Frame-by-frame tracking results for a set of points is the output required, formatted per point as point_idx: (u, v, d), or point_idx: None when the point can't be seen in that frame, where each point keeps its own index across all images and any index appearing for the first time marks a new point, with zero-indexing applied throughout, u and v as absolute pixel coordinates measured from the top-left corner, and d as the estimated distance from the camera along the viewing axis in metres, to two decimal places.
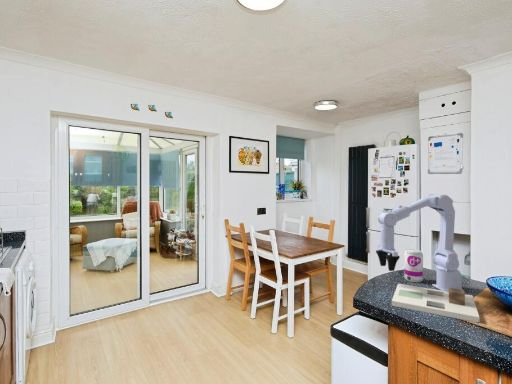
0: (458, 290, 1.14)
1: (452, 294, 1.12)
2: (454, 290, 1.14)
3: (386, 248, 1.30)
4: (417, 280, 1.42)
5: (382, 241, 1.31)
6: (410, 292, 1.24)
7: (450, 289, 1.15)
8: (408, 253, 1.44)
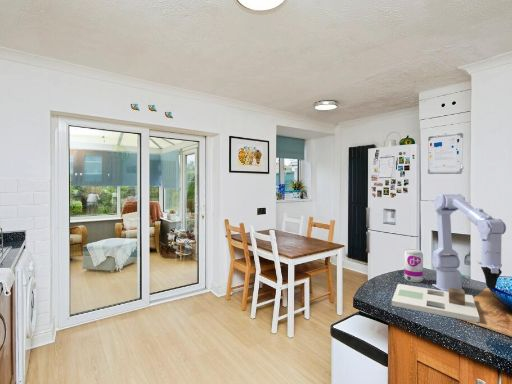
0: (458, 290, 1.14)
1: (452, 294, 1.12)
2: (454, 290, 1.14)
3: (486, 262, 1.06)
4: (417, 280, 1.42)
5: (482, 253, 1.08)
6: (410, 292, 1.24)
7: (450, 289, 1.15)
8: (408, 253, 1.44)
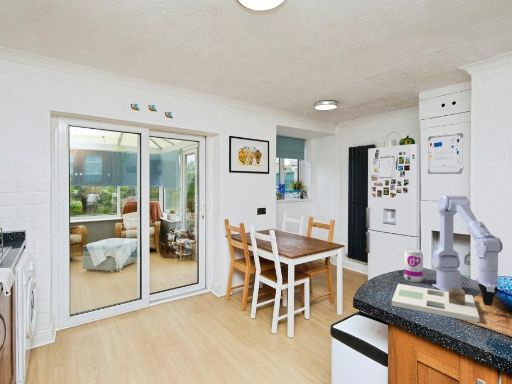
0: (458, 290, 1.14)
1: (452, 294, 1.12)
2: (454, 290, 1.14)
3: (483, 280, 1.07)
4: (417, 280, 1.42)
5: (479, 271, 1.09)
6: (410, 292, 1.24)
7: (450, 289, 1.15)
8: (408, 253, 1.44)
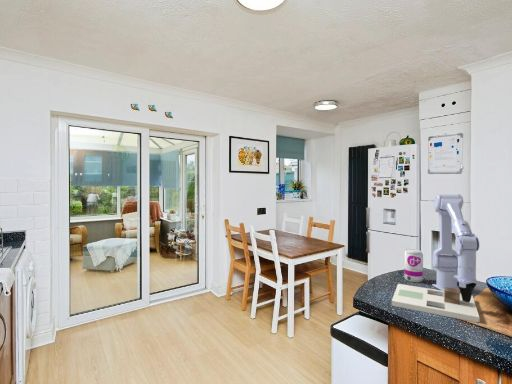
0: (454, 289, 1.15)
1: (447, 293, 1.13)
2: (450, 289, 1.15)
3: (460, 277, 1.11)
4: (417, 280, 1.42)
5: (457, 268, 1.13)
6: (410, 292, 1.24)
7: (446, 288, 1.16)
8: (408, 253, 1.44)
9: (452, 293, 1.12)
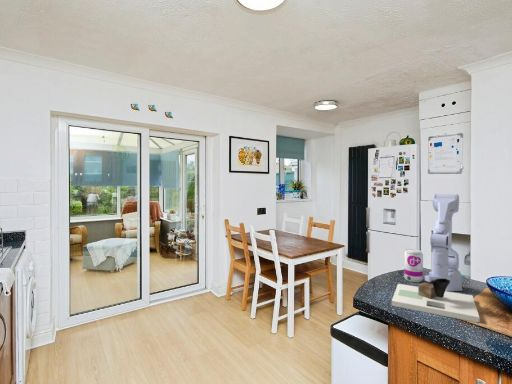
0: (430, 285, 1.20)
1: (421, 287, 1.20)
2: (426, 284, 1.20)
3: (432, 272, 1.17)
4: (417, 280, 1.42)
5: None
6: (410, 292, 1.24)
7: (423, 283, 1.22)
8: (408, 253, 1.44)
9: (424, 287, 1.19)
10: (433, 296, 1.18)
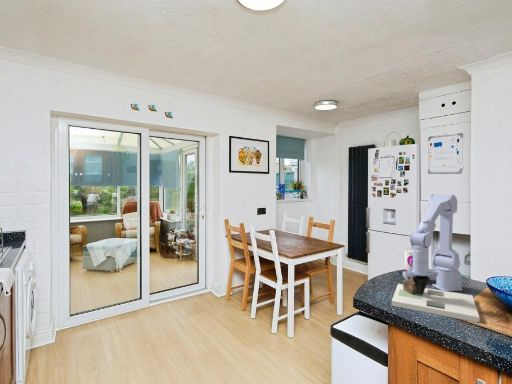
0: None
1: (404, 282, 1.25)
2: (410, 280, 1.25)
3: None
4: None
5: None
6: None
7: (409, 279, 1.26)
8: (408, 253, 1.44)
9: (407, 283, 1.24)
10: (416, 292, 1.22)
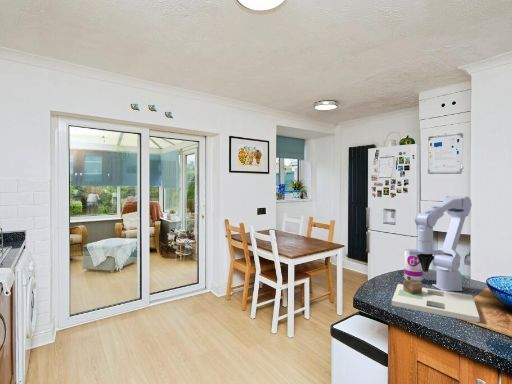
0: (415, 281, 1.24)
1: (405, 282, 1.25)
2: (411, 281, 1.25)
3: None
4: (417, 280, 1.42)
5: None
6: None
7: (410, 280, 1.27)
8: None
9: (408, 283, 1.24)
10: (416, 292, 1.22)
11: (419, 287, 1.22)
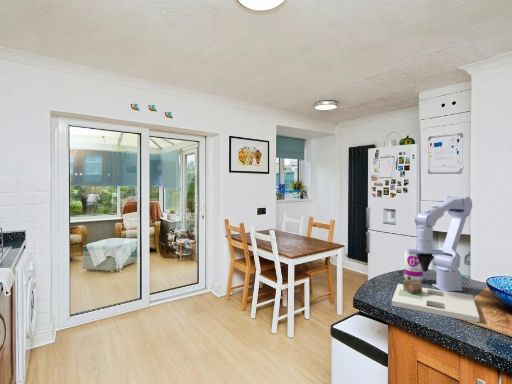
0: (415, 281, 1.24)
1: (405, 282, 1.25)
2: (411, 281, 1.25)
3: None
4: (417, 280, 1.42)
5: None
6: None
7: (410, 280, 1.27)
8: None
9: (408, 283, 1.24)
10: (416, 292, 1.22)
11: (419, 287, 1.22)
